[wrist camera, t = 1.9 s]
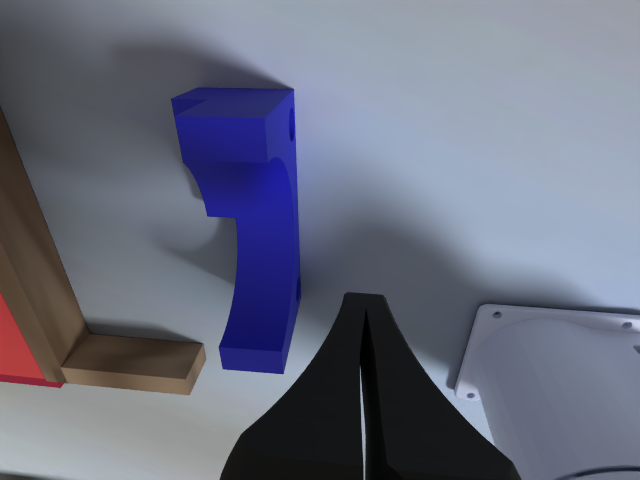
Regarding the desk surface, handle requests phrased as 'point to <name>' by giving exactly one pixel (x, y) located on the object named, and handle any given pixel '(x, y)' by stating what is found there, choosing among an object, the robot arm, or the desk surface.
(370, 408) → the robot arm
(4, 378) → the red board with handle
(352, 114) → the desk surface
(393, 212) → the desk surface
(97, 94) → the desk surface
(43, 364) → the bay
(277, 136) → the blue curved bracket
